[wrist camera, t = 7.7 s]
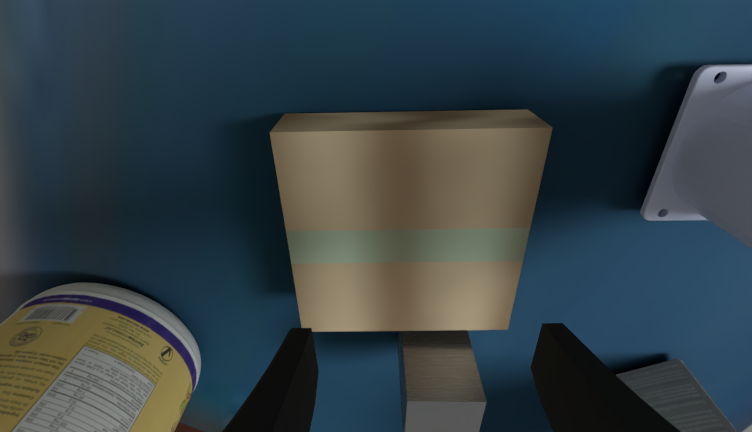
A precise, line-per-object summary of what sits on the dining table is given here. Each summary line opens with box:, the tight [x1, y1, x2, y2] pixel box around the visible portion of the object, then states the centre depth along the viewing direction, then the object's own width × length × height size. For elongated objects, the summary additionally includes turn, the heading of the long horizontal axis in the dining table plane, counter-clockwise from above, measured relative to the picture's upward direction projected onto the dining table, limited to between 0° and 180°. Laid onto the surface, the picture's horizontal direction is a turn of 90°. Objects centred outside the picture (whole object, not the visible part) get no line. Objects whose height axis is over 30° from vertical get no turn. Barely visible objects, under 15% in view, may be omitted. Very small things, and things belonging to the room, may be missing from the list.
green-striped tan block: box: [270, 109, 553, 332], centre depth 20 cm, size 12×12×3 cm
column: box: [398, 330, 487, 432], centre depth 23 cm, size 4×4×7 cm
